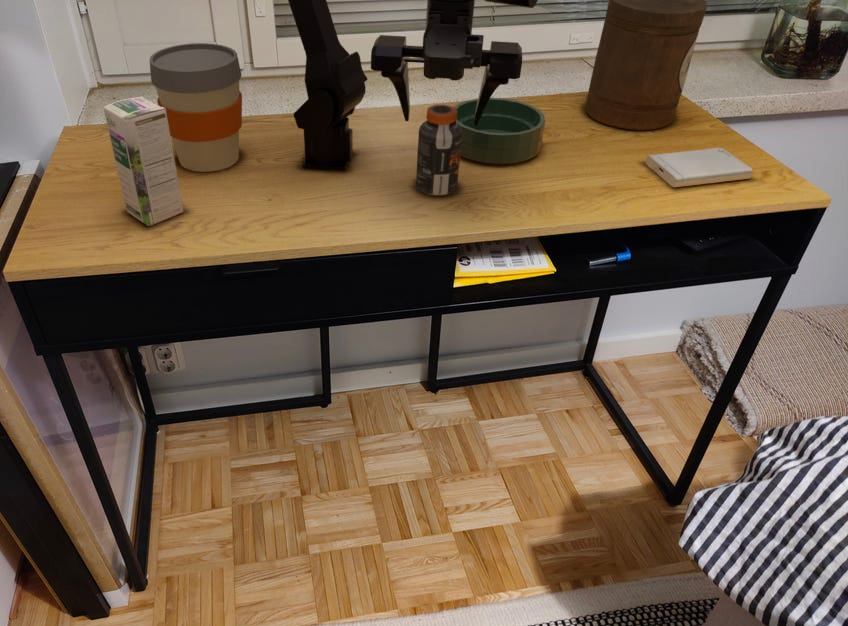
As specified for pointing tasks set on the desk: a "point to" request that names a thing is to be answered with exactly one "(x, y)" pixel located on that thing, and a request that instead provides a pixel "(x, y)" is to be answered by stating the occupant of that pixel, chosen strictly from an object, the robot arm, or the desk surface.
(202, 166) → the reusable coffee cup
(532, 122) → the bowl
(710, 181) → the hard drive
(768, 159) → the desk surface
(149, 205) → the syrup box
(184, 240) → the desk surface
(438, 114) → the pill bottle
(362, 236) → the desk surface
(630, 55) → the wooden container
